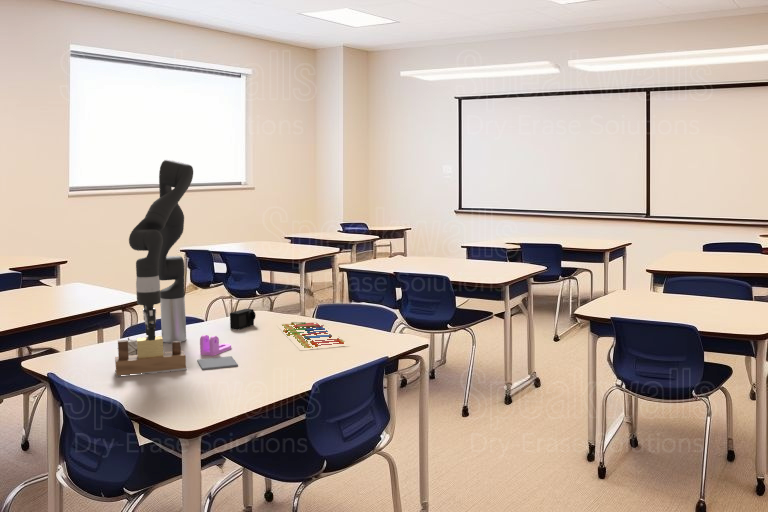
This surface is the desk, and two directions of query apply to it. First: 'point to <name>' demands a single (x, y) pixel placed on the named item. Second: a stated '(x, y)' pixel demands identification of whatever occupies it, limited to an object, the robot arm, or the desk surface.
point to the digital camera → (242, 319)
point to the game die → (132, 347)
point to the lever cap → (150, 347)
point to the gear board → (308, 329)
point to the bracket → (212, 346)
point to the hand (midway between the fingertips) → (150, 337)
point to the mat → (217, 363)
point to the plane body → (149, 361)
